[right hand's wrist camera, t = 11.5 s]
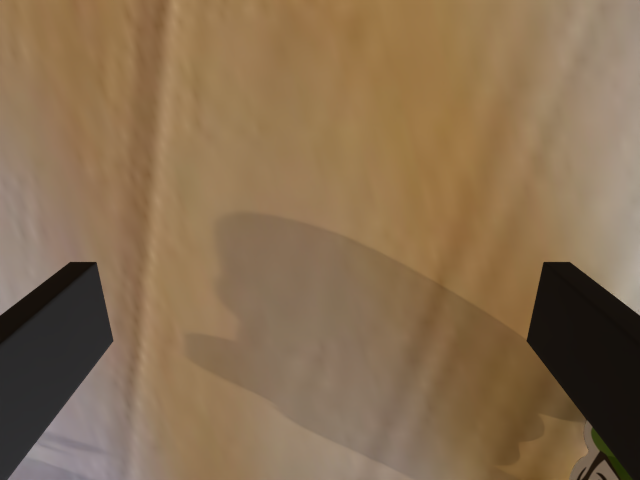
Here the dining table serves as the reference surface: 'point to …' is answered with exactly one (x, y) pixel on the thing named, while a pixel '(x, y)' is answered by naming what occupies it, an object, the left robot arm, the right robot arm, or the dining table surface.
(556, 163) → the dining table surface
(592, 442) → the cutout
